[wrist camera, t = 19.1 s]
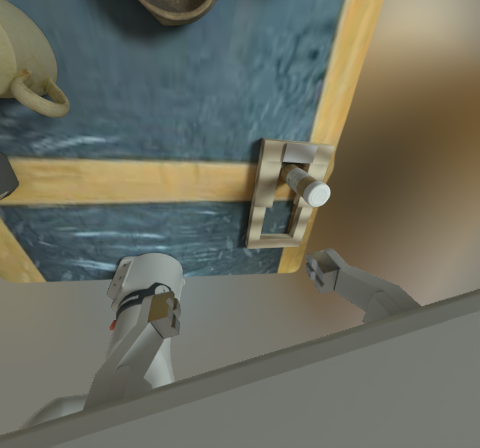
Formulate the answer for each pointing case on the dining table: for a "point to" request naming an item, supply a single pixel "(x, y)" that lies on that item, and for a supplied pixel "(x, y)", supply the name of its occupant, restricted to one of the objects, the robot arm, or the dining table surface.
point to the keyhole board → (266, 183)
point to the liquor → (6, 177)
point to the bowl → (177, 10)
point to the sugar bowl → (28, 64)
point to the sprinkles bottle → (305, 185)
